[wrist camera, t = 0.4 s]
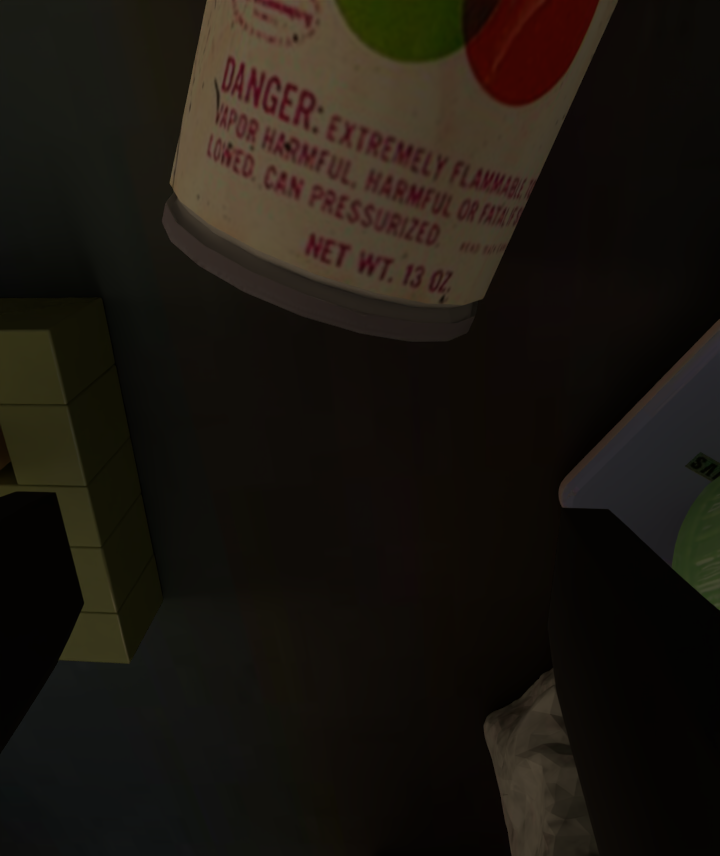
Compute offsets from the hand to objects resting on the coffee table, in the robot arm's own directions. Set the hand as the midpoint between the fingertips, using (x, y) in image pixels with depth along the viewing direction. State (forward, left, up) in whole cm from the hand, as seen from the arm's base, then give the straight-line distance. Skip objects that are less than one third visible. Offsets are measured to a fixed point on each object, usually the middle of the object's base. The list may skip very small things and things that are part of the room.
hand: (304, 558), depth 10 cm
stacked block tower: (-4, +11, -10) cm, 15 cm away
